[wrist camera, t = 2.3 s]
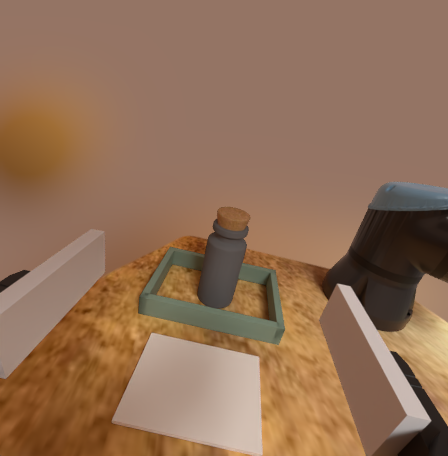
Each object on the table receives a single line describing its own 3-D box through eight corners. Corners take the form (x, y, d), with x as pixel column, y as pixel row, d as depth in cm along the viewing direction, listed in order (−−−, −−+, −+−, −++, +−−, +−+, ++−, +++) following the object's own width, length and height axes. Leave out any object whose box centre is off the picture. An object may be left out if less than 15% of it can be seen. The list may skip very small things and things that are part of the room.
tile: (258, 359, 32) (258, 356, 31) (261, 457, 23) (262, 454, 22) (151, 335, 32) (151, 332, 31) (111, 423, 23) (111, 420, 22)
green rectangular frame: (270, 283, 47) (275, 270, 46) (278, 344, 34) (285, 329, 33) (168, 260, 47) (170, 246, 46) (138, 313, 34) (139, 296, 33)
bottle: (205, 280, 44) (221, 201, 38) (236, 291, 43) (258, 212, 36) (191, 300, 39) (207, 213, 32) (226, 314, 38) (249, 226, 31)
